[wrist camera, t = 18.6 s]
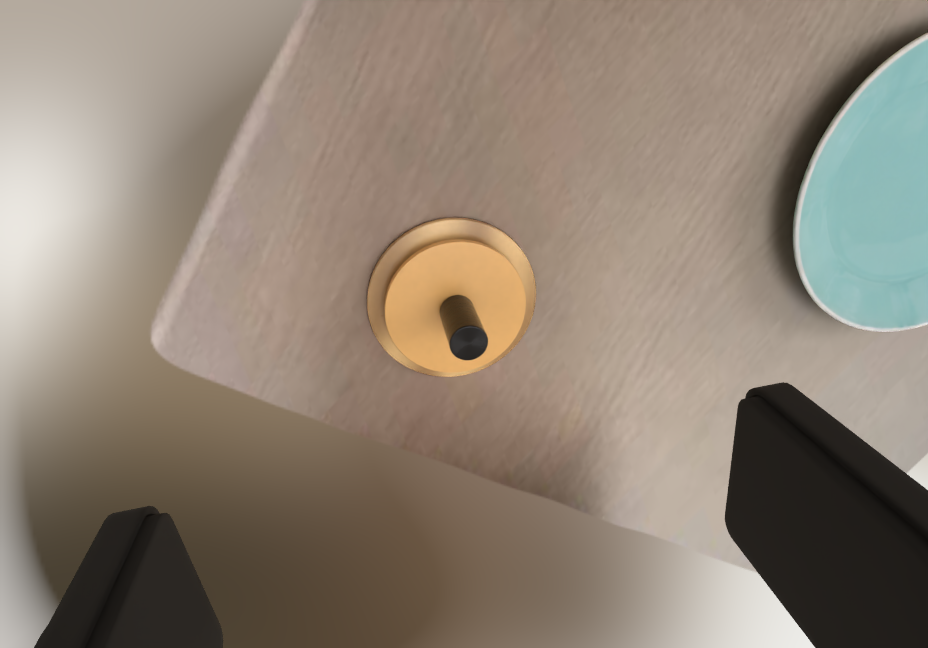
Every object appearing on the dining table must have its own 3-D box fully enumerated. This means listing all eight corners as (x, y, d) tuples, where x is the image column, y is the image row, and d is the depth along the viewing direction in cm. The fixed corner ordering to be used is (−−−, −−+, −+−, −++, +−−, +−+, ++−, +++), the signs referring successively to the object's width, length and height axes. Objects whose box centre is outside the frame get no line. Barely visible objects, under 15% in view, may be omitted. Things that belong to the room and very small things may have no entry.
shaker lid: (372, 355, 41) (375, 402, 36) (398, 224, 38) (405, 253, 32) (502, 372, 44) (522, 419, 38) (538, 250, 40) (566, 282, 34)
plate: (725, 156, 40) (750, 163, 37) (1024, -64, 37) (1073, -72, 34) (826, 366, 49) (851, 383, 47) (1069, 206, 46) (1110, 215, 44)
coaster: (354, 362, 42) (354, 366, 41) (383, 201, 37) (383, 203, 37) (509, 382, 45) (511, 385, 44) (554, 235, 40) (556, 237, 40)
